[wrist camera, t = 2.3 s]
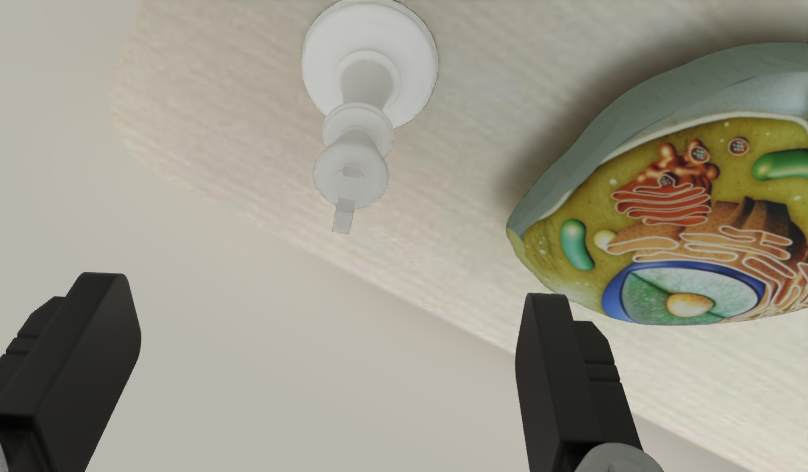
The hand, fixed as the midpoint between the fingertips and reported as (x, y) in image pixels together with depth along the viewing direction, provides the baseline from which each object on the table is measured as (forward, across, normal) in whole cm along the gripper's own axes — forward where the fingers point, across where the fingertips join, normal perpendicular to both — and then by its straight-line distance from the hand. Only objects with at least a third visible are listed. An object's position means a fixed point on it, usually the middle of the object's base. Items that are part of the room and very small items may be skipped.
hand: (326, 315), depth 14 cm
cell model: (+14, -14, +3) cm, 19 cm away
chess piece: (+14, 0, 0) cm, 14 cm away
